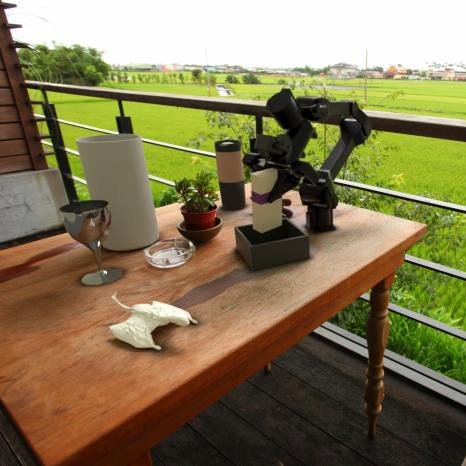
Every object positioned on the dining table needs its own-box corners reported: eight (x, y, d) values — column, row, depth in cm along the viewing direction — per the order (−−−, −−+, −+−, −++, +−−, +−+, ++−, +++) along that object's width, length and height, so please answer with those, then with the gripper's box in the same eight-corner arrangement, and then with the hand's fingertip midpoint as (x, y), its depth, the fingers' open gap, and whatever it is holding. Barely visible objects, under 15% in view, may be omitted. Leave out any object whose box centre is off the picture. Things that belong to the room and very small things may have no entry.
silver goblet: (127, 265, 83) (112, 198, 78) (121, 282, 77) (104, 210, 71) (84, 270, 81) (65, 202, 75) (74, 289, 74) (53, 214, 68)
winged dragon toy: (83, 328, 63) (76, 306, 61) (138, 298, 71) (133, 278, 70) (164, 360, 56) (159, 336, 54) (214, 322, 64) (211, 301, 63)
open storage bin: (288, 238, 98) (287, 217, 96) (309, 257, 88) (309, 235, 86) (236, 248, 92) (234, 226, 90) (252, 270, 82) (250, 247, 80)
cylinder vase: (101, 256, 87) (72, 143, 78) (103, 237, 97) (78, 135, 88) (162, 246, 93) (142, 140, 83) (158, 229, 103) (140, 132, 94)
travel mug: (240, 201, 126) (234, 139, 119) (251, 207, 121) (245, 142, 113) (217, 205, 122) (209, 141, 114) (227, 212, 116) (220, 144, 109)
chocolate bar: (252, 228, 87) (250, 173, 80) (273, 220, 91) (272, 167, 85) (261, 233, 85) (260, 177, 79) (282, 225, 89) (282, 171, 83)
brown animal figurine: (240, 193, 112) (283, 205, 107) (255, 182, 117) (297, 192, 112) (244, 213, 116) (286, 225, 111) (259, 201, 122) (300, 212, 116)
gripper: (244, 116, 86) (209, 174, 82) (309, 122, 77) (273, 188, 72) (271, 146, 95) (241, 200, 91) (332, 155, 86) (302, 216, 82)
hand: (262, 201), depth 84 cm, fingers closed on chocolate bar, 3 cm apart
